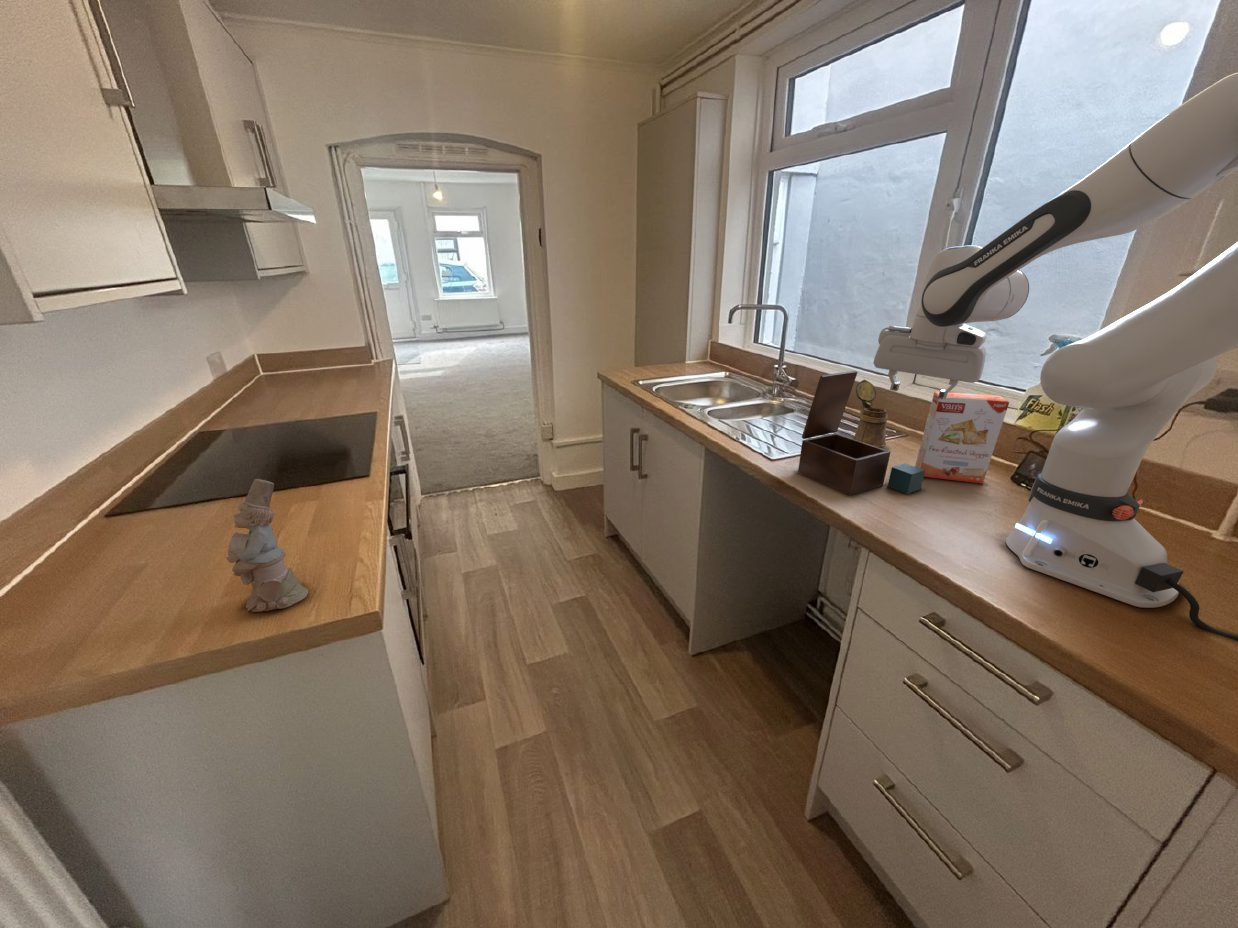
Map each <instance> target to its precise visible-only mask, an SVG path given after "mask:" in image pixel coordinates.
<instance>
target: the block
mask: <svg viewBox="0 0 1238 928" xmlns="http://www.w3.org/2000/svg"><path fill="white" fill-rule="evenodd" d="M924 473H925V470H923V469H920V468H917V467H915V465H911V464H907V463H901V464H898V465H894V466H892V467H891V469H890V475H889V478H888V482H887V487H889V488H892V489H893V490H896V491H898V492H902V493H903V494H906V495H908V494H912V493H914V492H917V491H920V490H921V488H922V485H923V481H924V478H925V477H924Z"/></svg>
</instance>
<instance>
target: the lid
mask: <svg viewBox="0 0 1238 928" xmlns="http://www.w3.org/2000/svg"><path fill="white" fill-rule="evenodd" d="M858 373H859V372H858V371H857V370H850V371H845V372H844V371H841V372H835V373H829V374H828V373H827V374H821V375H820V376H819V379H818V382H817V386H816V388H815V389H816V390H815V392H814V396H813V399H812V402H811V405H810V407H809V408H810V409H809V412H808V416H807V418H806V421H805V426H804V427H803V428H804V429H803V432H802V435H801V439H803V440H807V439H811V438H816V437H820V436H825V435H829V434H834V433H837V432H838V430H839V428H840V425H841V421H842V419H843V416H844V413H845V411H846V407H847V404H848V402H849V398H850V395H851V392H852V390H853V387H854V384H855V381H856V378H857V376H858Z"/></svg>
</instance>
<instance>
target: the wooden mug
mask: <svg viewBox="0 0 1238 928" xmlns="http://www.w3.org/2000/svg"><path fill="white" fill-rule="evenodd" d="M855 393H856V396H857V399H859V400H860V402H861V407H860V411H859V417H858V418H859V421H858V422H859V423H858V425H857V427H856V430H855V433H854V436H853V437H852V439H855V440H858V441H861V442H864V443H867V444H870V445H873V446H876V447H879V448H882V449H884V450H887V442H886V440H887V439H886V436H887V423H888V417H889V416H888V410H887V409H885V408H880V407H879V408H878V407H873V401H874V400H875V399H876V397H877V389H876V387H875V385H874V384H872V382H870V381H868V380H866V379H862V380H861V381H859V383H858V384H857V385H856V387H855Z"/></svg>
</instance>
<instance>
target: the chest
mask: <svg viewBox="0 0 1238 928" xmlns="http://www.w3.org/2000/svg"><path fill="white" fill-rule="evenodd" d="M890 456H891V451H890V450H887V449H885V450H884V449H882V448H879V447H876V446H873V445H870V444H867V443H864V442H861V441H858V440H855V439H853V437H850V436H846V435H842V434H840V433H837V432H834V433H830V434H825V435H820V436H816V437H811V438H807V439H803V440H802V441H801V448H800V454H799V462H798V469H797V473H798V474H800V475H802V476H804V477H807V478H809V479H811V480H814V481H815V482H818V483H820V484H822V485H825V486H827V487H829V488H831V489H834V490H835V491H837V492H840V493H842V494H844V495H846V496H853V495H857V494H860V493H863V492H867V491H869V490H873V489H877V488H879V487H883V486H884V484H885V479H886V475H887V470H888V465H889V461H890Z"/></svg>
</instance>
